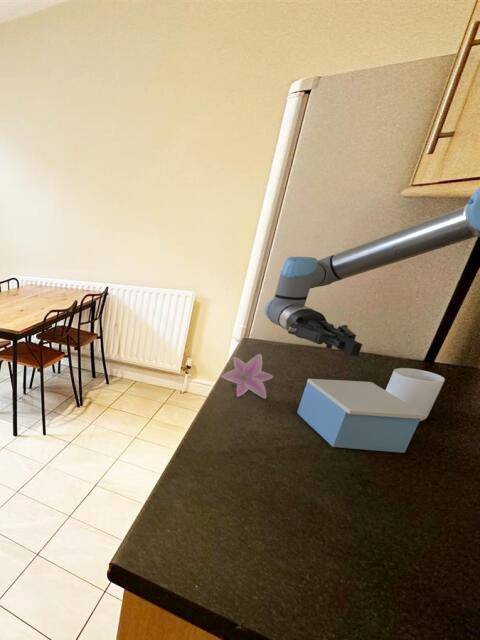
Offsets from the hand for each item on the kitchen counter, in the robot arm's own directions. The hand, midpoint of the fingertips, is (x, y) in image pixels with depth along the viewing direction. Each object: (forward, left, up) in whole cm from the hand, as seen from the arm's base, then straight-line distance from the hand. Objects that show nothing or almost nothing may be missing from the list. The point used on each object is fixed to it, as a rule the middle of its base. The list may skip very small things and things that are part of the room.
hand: (356, 349), depth 91 cm
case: (-3, +5, -17) cm, 18 cm away
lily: (+19, -2, -17) cm, 26 cm away
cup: (-10, -16, -17) cm, 26 cm away
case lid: (-4, +5, -9) cm, 11 cm away
